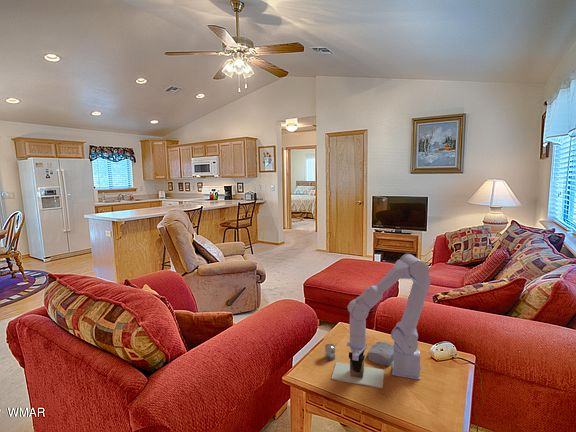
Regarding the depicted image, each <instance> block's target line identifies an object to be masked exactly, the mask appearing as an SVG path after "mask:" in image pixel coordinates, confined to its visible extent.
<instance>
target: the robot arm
mask: <svg viewBox="0 0 576 432" xmlns="http://www.w3.org/2000/svg"><path fill="white" fill-rule="evenodd" d="M430 270H431V269H430V267H429V265H428V264H427V263H426V262H425V261H423V260H421V259H419V258H417V257H416V256H415V255H413V254H411V253H405V254H403V255H402V256H401V257H400V259H397V260H396V261H395V263H394V265H393V267H392V268H391V269H390V270H389V271H388V272H387V273H386V274H385V275H384V277H382V278H381V280H379V282H378V283H377V284H375V285H370V286H367V287H365V288H364V289H365V290H364V291H363V292H362V293H361V294H360V295H359V296H356V298H355V299H352V300H350V302H349V303H348V305H347V306H346V307H347V308H346V309H347V311H348V312H349V340H347V341H346V346H347V347H349V348H350V351H351V352H349V351H348V358H349V361H350V360H351V362H352V365H353V369H354V372H360V370H361V365H362V362H363V360H364V361H365V358H366V355H365V354H364V353H365V351H366V349H367V345H368V344H367V337H366V336H367V328H366V326H367V324H366V323H367V322H366V321H367V320H366V319H367V318H368V316H369V312H370V311H371V309H372V308H373V307H374V306H375V305H377V304H378V303H379V302H380V301H381V300H382V299H383V297H384V296H383V294H384V292H386V291H387V290H388V289H389V288H391V287H392V286H393V285H394V284H396V283H397V282H398V281H399V280H400V279H401V280H402V279H405V280H410V279H411V281H412V286H411V288H410V292H409V295H408V298H407V300H406V304H405V307H404V311H403V315H402V318H401V320H400V321H398V322H396V325H395V326H394V328H393V329H392V331H391V332H390V336H391V337H390V338H391V339H392V340H393V343H394V344H393V345H394V360H393V361H392V363H391V364H392V366H391V367H392V369H391V370H392V371H391V375H392V376H396V377H402V378H408V379H415V380H420V379H421V369H422V368H421V367H422V366H421V351H420V349H418V348H419V347H418V346H419V345H418V344H419V343H418V339H419V334H418V330H417V327H418V323H419V320H420V317H421V313H422V312H423V311H422V310H423V307H424V305H425V301H426V298H427V295H428V292H429V289H430V286H431V278H430Z"/></svg>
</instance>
